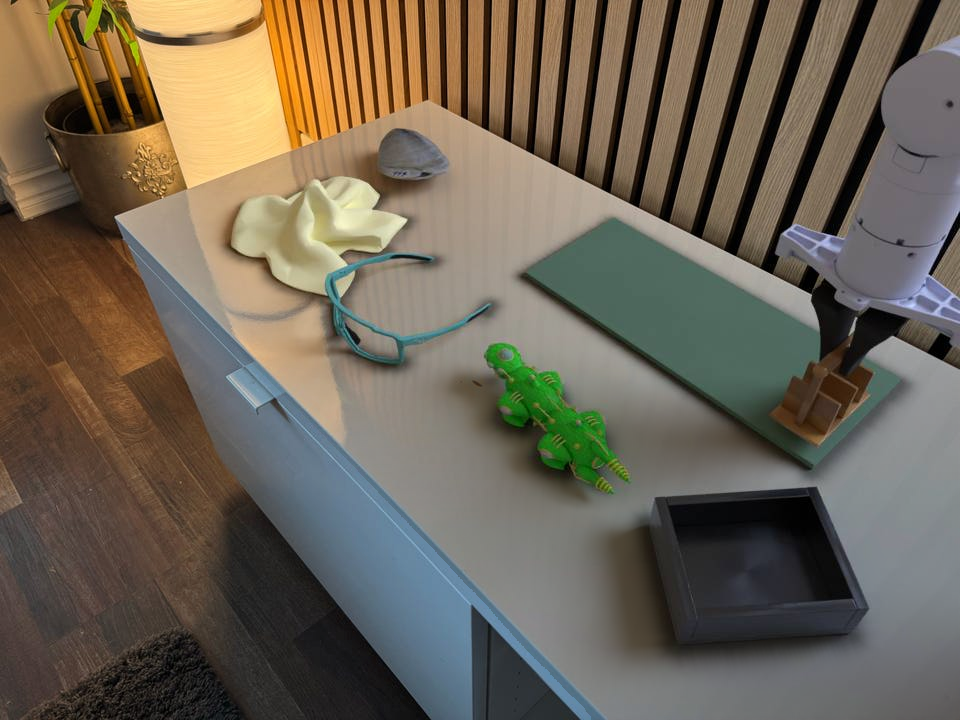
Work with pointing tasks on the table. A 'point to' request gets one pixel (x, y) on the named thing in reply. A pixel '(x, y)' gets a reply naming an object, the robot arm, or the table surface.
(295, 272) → the cloth
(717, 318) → the drying mat
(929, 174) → the robot arm
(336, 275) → the sunglasses
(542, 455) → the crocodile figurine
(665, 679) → the table surface
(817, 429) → the dish rack
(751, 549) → the open box
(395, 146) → the seashell
